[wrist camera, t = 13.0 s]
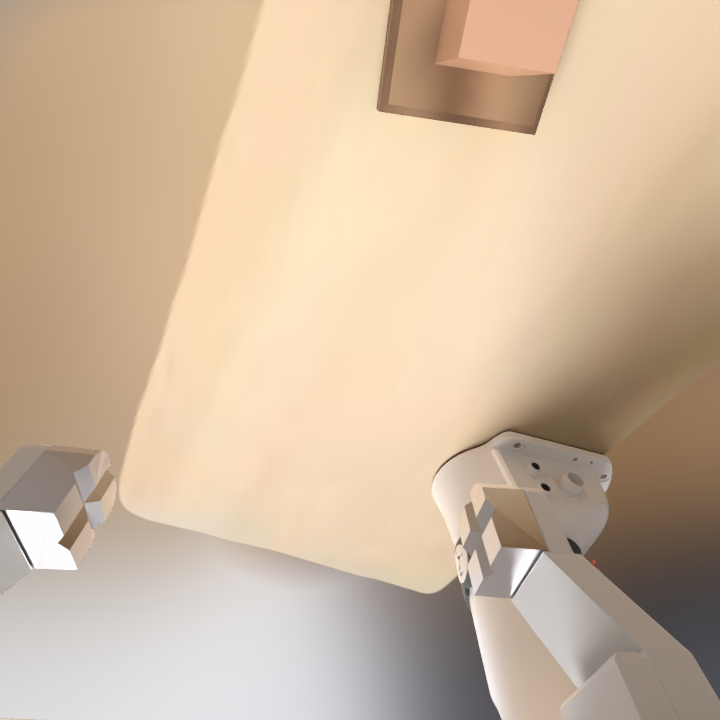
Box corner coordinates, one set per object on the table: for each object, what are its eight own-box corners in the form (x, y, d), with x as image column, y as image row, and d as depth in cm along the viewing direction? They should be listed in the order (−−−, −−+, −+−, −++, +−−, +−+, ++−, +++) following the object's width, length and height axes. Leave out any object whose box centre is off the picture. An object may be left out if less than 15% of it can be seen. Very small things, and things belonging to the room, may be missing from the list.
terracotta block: (539, -29, 24) (600, -66, 18) (511, 76, 27) (555, 73, 21) (454, -45, 23) (488, -88, 18) (434, 63, 26) (458, 57, 20)
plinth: (578, -70, 26) (611, -93, 22) (518, 130, 32) (537, 135, 28) (404, -104, 25) (412, -134, 22) (376, 108, 31) (379, 111, 28)
